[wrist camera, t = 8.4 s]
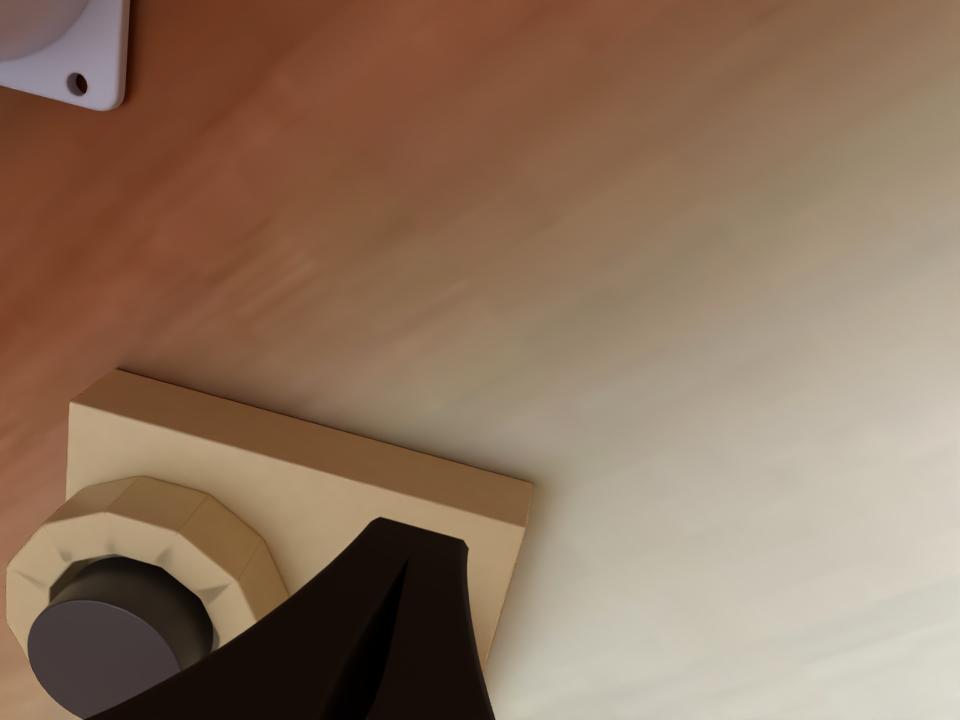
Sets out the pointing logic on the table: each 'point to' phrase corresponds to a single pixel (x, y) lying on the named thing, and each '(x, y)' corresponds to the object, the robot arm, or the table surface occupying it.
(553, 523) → the table surface
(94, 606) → the button
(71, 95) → the robot arm
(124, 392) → the switch box
